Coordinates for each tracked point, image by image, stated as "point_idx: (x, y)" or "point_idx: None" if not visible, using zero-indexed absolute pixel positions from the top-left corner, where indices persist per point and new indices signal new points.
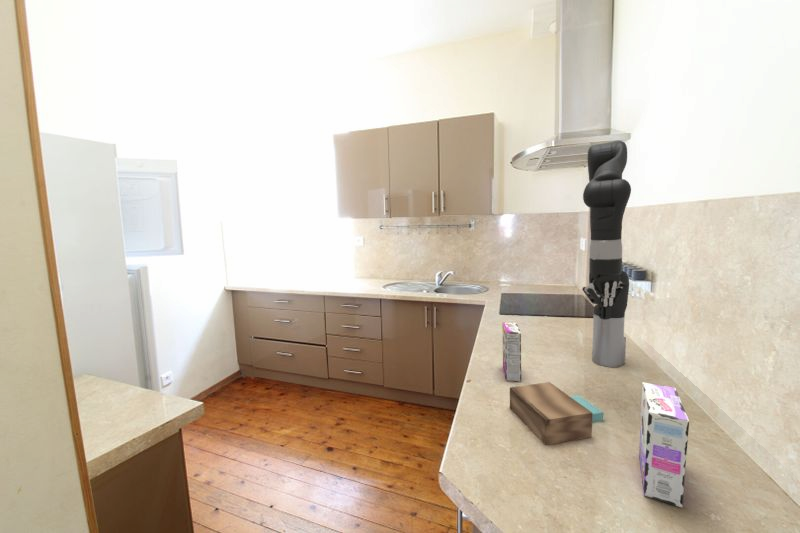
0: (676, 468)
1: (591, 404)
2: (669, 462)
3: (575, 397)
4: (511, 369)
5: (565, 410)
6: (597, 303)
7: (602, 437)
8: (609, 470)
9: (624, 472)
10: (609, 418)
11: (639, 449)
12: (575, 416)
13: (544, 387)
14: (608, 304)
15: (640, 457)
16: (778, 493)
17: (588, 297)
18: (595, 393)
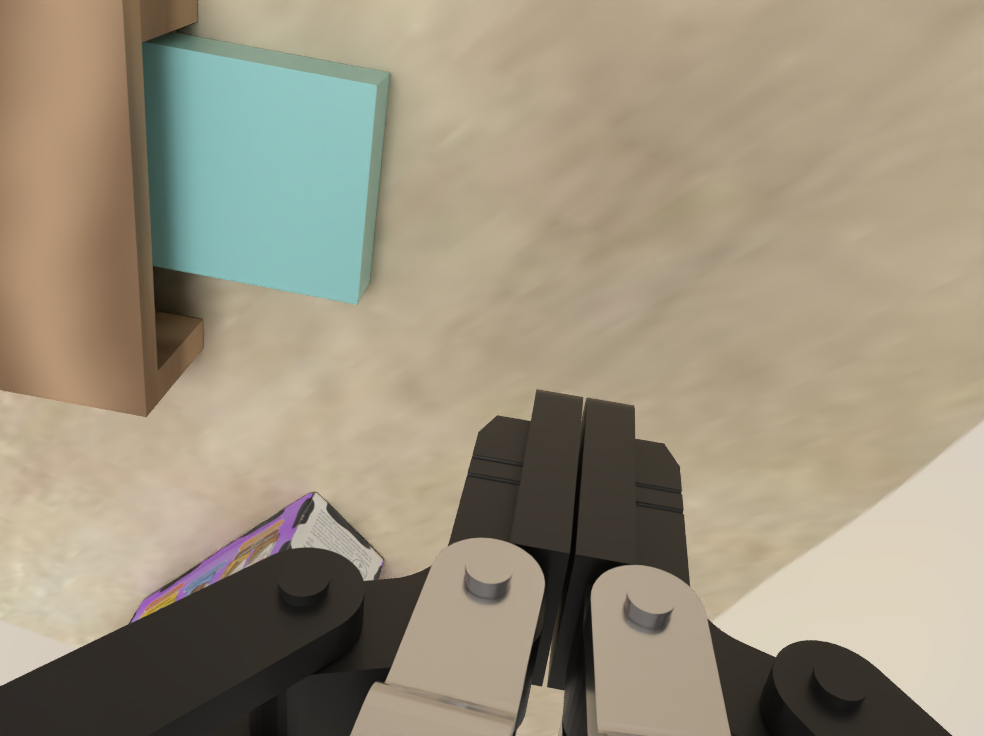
0: None
1: (359, 216)
2: None
3: (329, 103)
4: None
5: (13, 343)
6: (246, 715)
7: (251, 369)
8: (123, 498)
9: (169, 523)
10: (422, 280)
11: (288, 518)
12: (43, 393)
13: (31, 61)
14: (563, 720)
15: (232, 557)
16: (542, 730)
17: (66, 674)
18: (620, 21)
